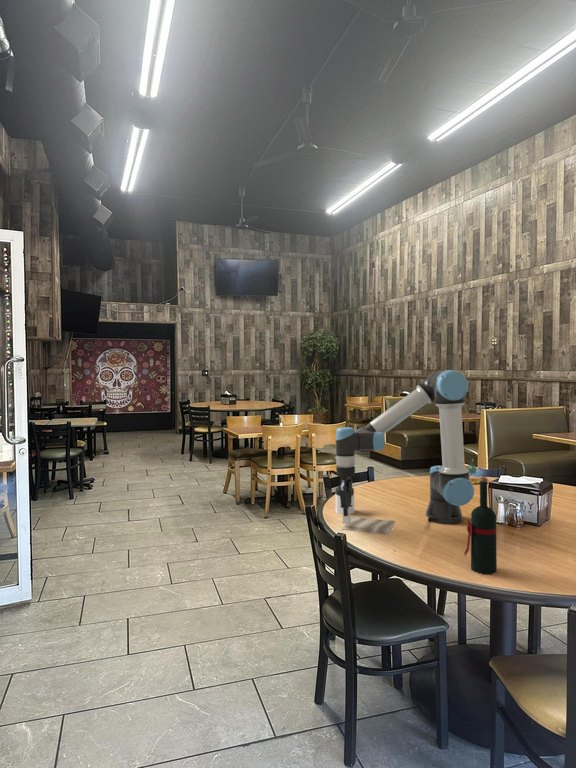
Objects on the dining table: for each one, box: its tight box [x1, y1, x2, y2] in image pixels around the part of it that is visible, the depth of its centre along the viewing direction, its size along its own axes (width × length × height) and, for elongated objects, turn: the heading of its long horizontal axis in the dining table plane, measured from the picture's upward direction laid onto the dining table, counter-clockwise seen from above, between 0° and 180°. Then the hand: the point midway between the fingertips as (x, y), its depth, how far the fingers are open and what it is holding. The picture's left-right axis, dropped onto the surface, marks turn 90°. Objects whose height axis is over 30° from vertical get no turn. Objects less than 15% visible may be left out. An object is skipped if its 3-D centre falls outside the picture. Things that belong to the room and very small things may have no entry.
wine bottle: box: [463, 476, 498, 575], centre depth 157 cm, size 8×10×30 cm
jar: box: [334, 486, 355, 515], centre depth 219 cm, size 9×8×12 cm
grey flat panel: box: [361, 518, 397, 536], centre depth 200 cm, size 23×20×1 cm
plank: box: [340, 515, 371, 533], centre depth 202 cm, size 8×18×1 cm, turn 158°
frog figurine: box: [466, 458, 490, 485], centre depth 278 cm, size 10×18×15 cm, turn 80°
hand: (346, 523), depth 198 cm, fingers closed
